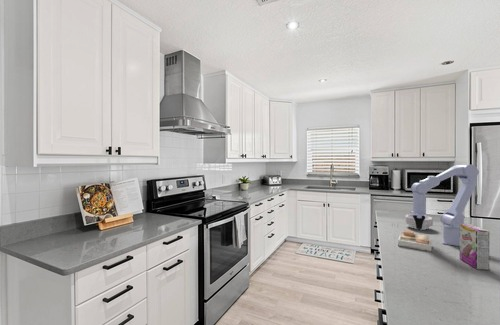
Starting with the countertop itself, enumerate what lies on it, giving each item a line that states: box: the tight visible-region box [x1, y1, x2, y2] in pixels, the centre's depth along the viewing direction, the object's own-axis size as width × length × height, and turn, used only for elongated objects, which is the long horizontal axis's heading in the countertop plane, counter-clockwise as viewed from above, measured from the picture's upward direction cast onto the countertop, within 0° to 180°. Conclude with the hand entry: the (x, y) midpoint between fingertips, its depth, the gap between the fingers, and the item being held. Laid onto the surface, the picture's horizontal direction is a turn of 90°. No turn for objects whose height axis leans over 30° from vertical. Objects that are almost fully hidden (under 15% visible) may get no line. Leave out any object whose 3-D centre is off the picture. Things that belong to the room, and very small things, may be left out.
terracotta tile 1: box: [416, 239, 428, 245], centre depth 129 cm, size 5×5×2 cm
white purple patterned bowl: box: [404, 213, 434, 231], centre depth 163 cm, size 15×15×8 cm
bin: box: [397, 234, 433, 252], centre depth 129 cm, size 14×12×3 cm
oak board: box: [400, 231, 430, 243], centre depth 138 cm, size 13×11×2 cm
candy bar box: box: [459, 223, 490, 271], centre depth 105 cm, size 11×5×16 cm, turn 168°
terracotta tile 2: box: [402, 229, 415, 237], centre depth 141 cm, size 5×5×2 cm
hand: (418, 228), depth 134 cm, fingers closed
